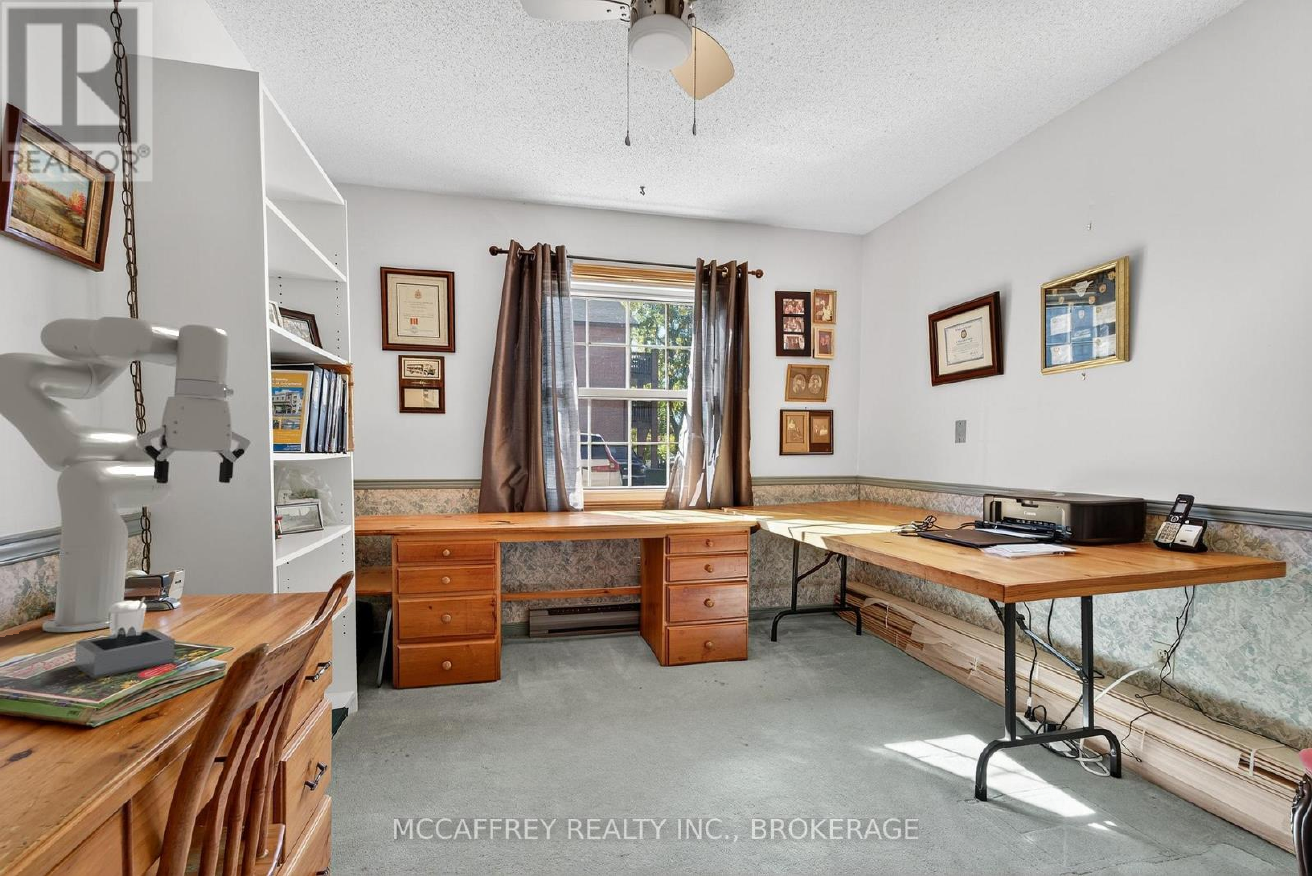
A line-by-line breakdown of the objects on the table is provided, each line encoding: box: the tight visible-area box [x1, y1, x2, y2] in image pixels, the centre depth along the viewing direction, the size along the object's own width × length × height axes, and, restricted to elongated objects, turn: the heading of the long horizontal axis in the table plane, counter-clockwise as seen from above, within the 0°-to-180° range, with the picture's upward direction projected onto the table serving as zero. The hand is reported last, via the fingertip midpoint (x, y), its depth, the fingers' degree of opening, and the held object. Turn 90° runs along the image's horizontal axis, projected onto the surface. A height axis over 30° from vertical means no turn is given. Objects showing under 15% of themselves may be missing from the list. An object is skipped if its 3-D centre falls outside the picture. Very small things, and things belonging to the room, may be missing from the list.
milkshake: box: [108, 596, 147, 649], centre depth 94 cm, size 4×5×10 cm
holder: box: [74, 628, 176, 680], centre depth 93 cm, size 10×10×4 cm
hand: (194, 482), depth 109 cm, fingers open, 9 cm apart
